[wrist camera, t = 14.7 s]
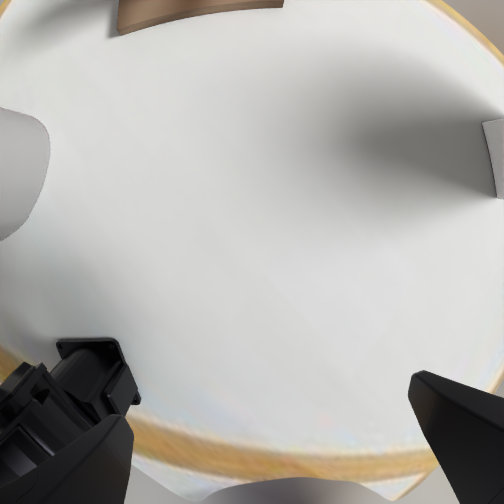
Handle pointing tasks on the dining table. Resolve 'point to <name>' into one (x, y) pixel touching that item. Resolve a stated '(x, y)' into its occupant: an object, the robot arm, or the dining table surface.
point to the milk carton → (496, 151)
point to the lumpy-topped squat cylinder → (20, 167)
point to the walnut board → (178, 10)
